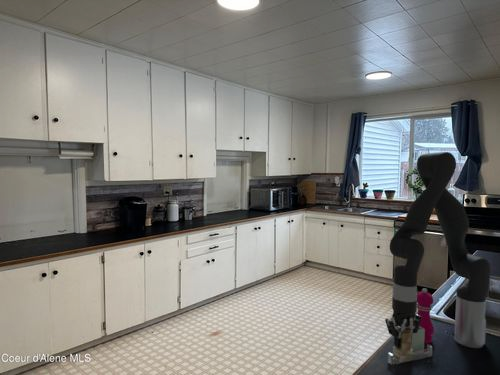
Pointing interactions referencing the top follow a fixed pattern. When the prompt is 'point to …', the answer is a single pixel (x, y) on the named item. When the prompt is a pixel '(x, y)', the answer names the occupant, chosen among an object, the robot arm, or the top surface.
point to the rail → (415, 355)
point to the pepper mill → (425, 313)
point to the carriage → (404, 347)
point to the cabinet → (418, 340)
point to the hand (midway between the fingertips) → (402, 346)
